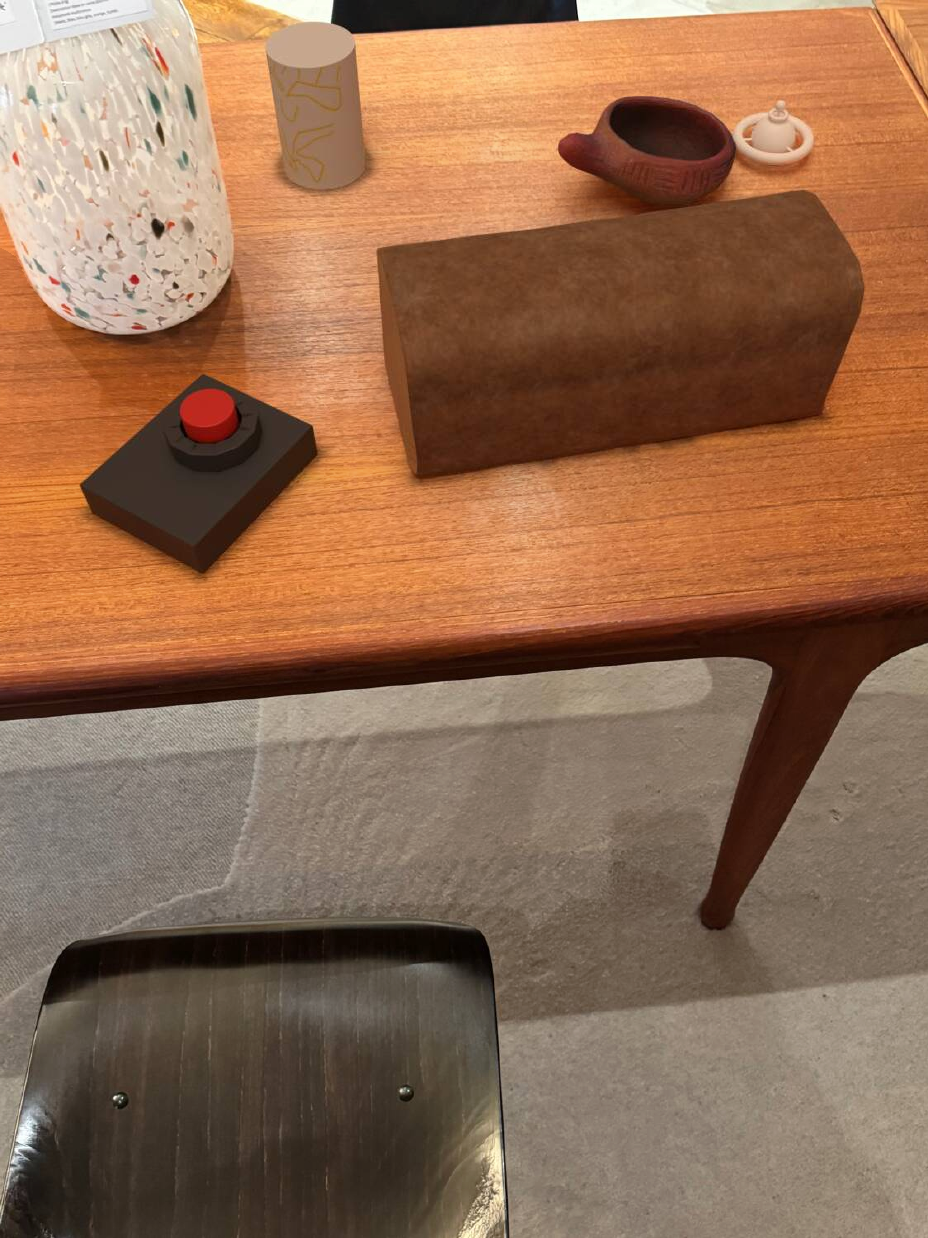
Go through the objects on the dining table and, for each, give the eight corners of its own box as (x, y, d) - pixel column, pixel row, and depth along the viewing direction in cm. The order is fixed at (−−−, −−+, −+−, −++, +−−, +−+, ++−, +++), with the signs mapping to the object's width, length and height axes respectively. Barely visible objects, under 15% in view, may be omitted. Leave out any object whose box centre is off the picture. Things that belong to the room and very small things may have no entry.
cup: (270, 178, 105) (249, 57, 95) (307, 135, 109) (291, 15, 99) (344, 196, 103) (330, 74, 93) (379, 152, 107) (369, 31, 97)
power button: (215, 451, 78) (210, 434, 76) (173, 430, 79) (168, 413, 78) (249, 418, 80) (245, 400, 78) (208, 398, 81) (203, 381, 79)
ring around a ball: (712, 149, 107) (766, 188, 104) (722, 95, 103) (778, 134, 99) (772, 122, 110) (826, 159, 106) (784, 68, 105) (841, 105, 101)
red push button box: (202, 574, 77) (187, 530, 73) (91, 512, 81) (71, 468, 76) (318, 454, 84) (310, 408, 80) (210, 402, 87) (197, 355, 83)
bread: (826, 421, 86) (883, 274, 74) (412, 487, 82) (402, 344, 70) (764, 309, 93) (806, 160, 82) (383, 365, 90) (370, 217, 78)
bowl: (640, 138, 108) (651, 60, 102) (749, 185, 104) (767, 106, 97) (545, 212, 102) (549, 133, 95) (656, 266, 97) (669, 187, 90)
